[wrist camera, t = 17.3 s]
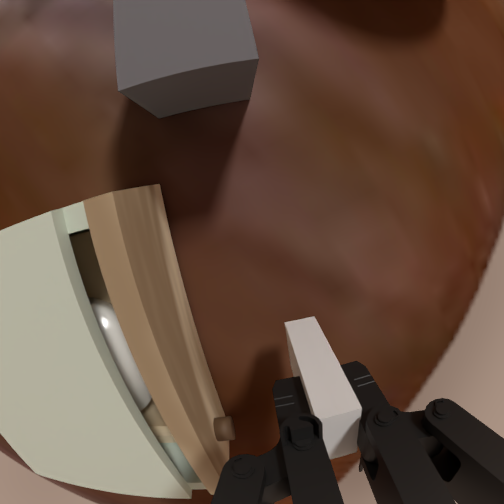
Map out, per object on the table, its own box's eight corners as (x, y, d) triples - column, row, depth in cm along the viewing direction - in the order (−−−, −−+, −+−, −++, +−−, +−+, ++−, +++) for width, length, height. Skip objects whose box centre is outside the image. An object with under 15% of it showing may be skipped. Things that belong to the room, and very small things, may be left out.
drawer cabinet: (62, 422, 20) (36, 473, 13) (-21, 243, 15) (-82, 270, 8) (210, 425, 20) (206, 498, 13) (136, 189, 15) (72, 203, 8)
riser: (158, 118, 14) (118, 91, 8) (148, 43, 13) (113, -7, 7) (250, 99, 14) (258, 58, 8) (234, 24, 13) (235, -36, 7)
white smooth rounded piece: (83, 403, 17) (76, 417, 15) (30, 308, 15) (17, 318, 13) (179, 395, 17) (175, 412, 15) (127, 283, 15) (117, 294, 13)
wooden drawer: (71, 426, 19) (47, 474, 13) (-15, 241, 15) (-73, 266, 8) (241, 424, 20) (245, 492, 13) (177, 179, 15) (139, 184, 9)
